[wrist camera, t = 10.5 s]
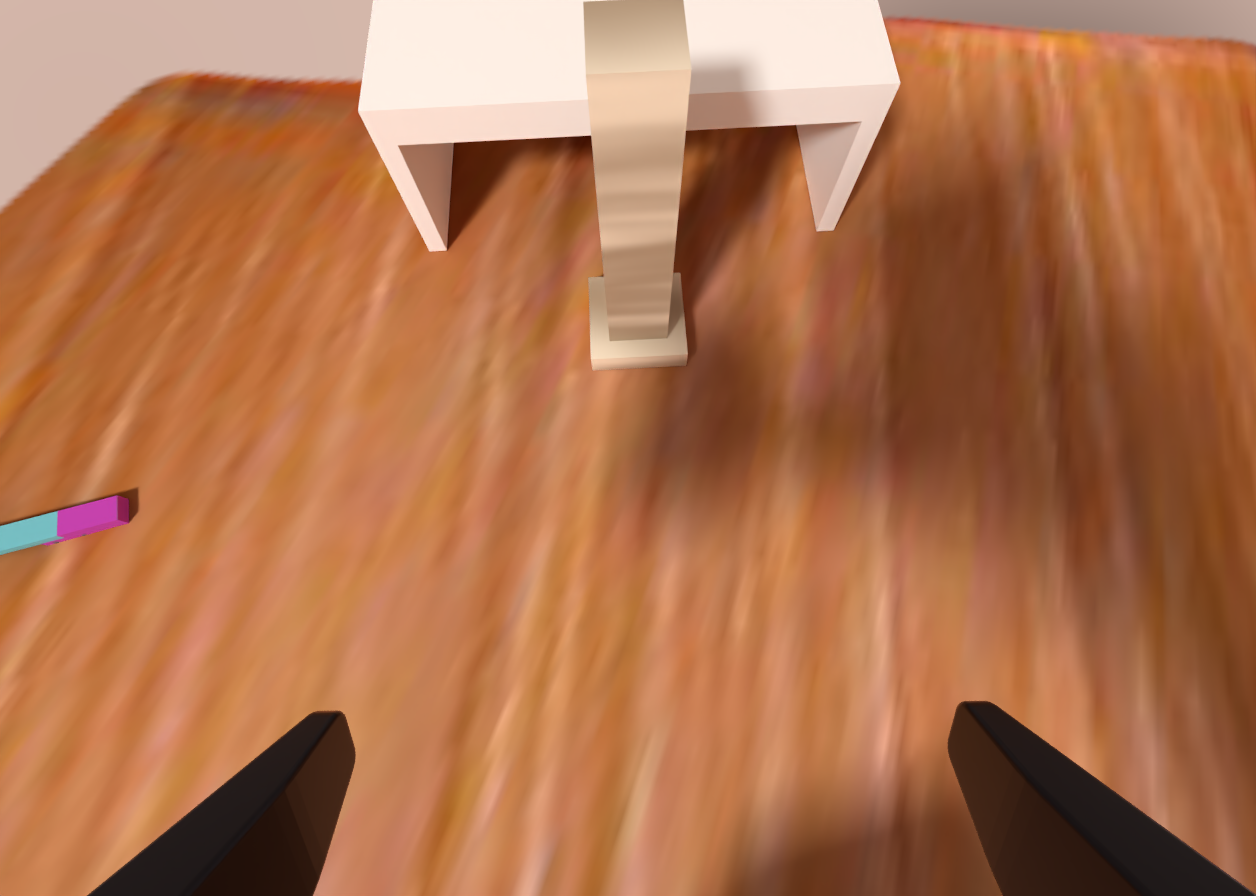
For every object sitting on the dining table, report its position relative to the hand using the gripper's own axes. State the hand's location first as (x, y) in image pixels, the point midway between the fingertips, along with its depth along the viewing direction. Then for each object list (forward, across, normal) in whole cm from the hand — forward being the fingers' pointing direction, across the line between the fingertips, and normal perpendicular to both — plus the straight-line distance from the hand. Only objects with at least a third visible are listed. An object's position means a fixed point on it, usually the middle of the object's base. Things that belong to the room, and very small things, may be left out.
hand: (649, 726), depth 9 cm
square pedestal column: (+24, 0, -6) cm, 25 cm away
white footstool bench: (+26, 0, -8) cm, 27 cm away
